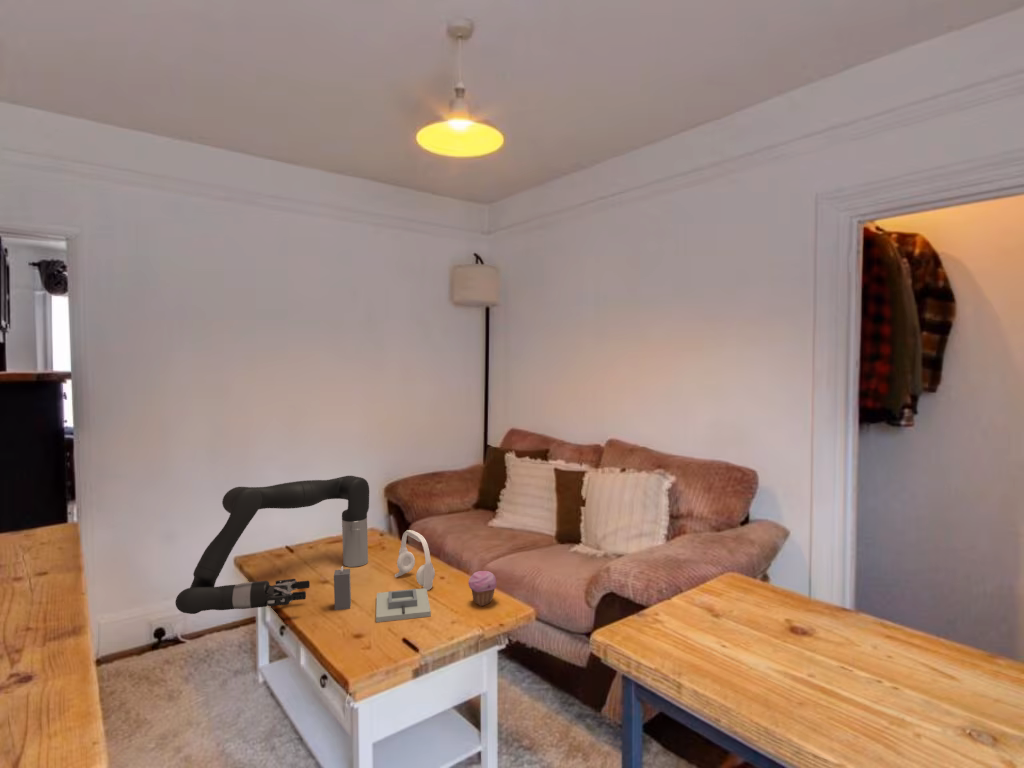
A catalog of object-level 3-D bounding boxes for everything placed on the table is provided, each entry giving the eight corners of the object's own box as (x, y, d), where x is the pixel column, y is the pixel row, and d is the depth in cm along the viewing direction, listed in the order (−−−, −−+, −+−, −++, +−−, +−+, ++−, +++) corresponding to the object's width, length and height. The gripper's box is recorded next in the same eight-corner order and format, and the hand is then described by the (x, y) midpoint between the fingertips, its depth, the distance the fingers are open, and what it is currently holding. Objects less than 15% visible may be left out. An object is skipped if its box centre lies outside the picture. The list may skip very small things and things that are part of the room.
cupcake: (464, 601, 181) (463, 570, 181) (486, 594, 187) (486, 564, 186) (479, 611, 174) (478, 579, 174) (502, 603, 179) (501, 572, 179)
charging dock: (376, 597, 185) (376, 587, 185) (426, 592, 189) (426, 582, 189) (376, 622, 168) (375, 610, 168) (430, 616, 171) (430, 604, 171)
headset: (438, 589, 191) (437, 537, 191) (419, 595, 187) (418, 541, 186) (411, 572, 207) (410, 523, 207) (393, 576, 203) (392, 527, 202)
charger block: (335, 604, 181) (334, 565, 180) (350, 602, 182) (349, 564, 181) (334, 610, 176) (333, 571, 176) (350, 608, 177) (349, 569, 177)
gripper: (245, 592, 166) (304, 586, 169) (256, 574, 180) (310, 569, 183) (246, 617, 166) (305, 611, 170) (257, 597, 180) (310, 592, 184)
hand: (307, 589), depth 177 cm, fingers open, 8 cm apart
